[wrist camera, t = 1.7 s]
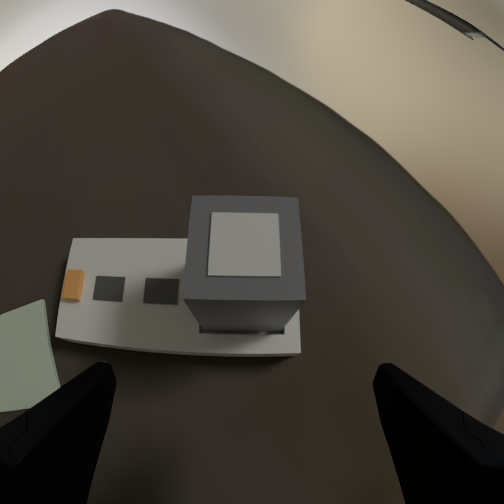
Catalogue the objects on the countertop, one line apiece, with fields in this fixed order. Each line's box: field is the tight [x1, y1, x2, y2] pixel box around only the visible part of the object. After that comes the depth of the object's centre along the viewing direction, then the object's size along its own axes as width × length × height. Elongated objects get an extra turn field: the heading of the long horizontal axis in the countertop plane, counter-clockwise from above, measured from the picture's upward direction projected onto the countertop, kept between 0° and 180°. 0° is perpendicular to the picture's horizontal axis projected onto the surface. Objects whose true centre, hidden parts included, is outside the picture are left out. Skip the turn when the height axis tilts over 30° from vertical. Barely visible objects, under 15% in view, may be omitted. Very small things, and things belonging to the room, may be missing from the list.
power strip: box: [55, 238, 301, 357], centre depth 20 cm, size 18×8×3 cm, turn 90°
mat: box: [0, 299, 60, 412], centre depth 18 cm, size 9×9×1 cm
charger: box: [182, 196, 306, 331], centre depth 17 cm, size 5×5×9 cm
